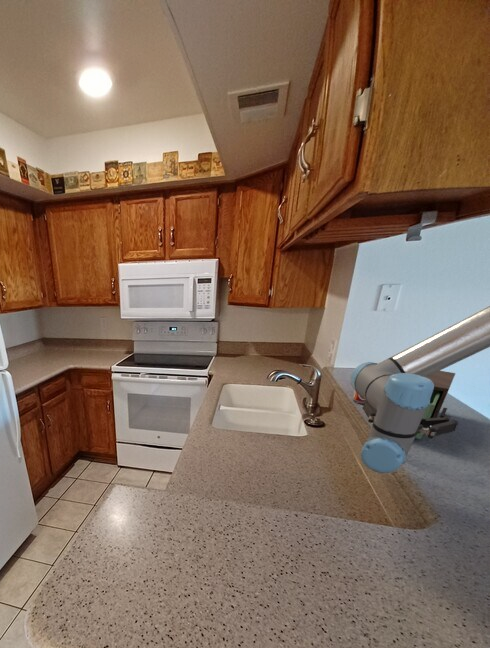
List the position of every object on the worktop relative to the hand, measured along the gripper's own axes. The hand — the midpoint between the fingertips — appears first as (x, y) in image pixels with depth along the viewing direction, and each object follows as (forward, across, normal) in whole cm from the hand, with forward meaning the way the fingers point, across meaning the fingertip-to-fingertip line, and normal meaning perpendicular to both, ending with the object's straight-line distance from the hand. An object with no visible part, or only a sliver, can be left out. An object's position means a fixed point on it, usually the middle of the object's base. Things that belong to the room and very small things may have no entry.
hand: (412, 405), depth 89 cm
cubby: (+28, 0, -13) cm, 31 cm away
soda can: (+31, -17, -13) cm, 37 cm away
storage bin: (+16, 0, -12) cm, 20 cm away
